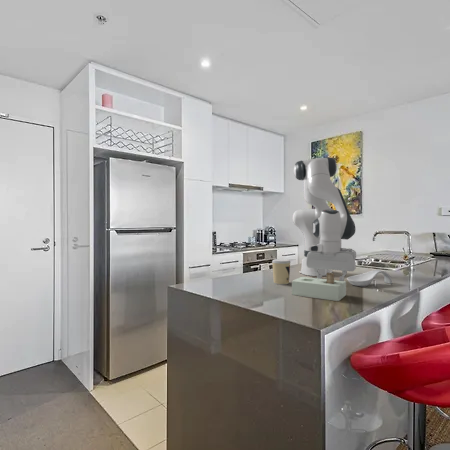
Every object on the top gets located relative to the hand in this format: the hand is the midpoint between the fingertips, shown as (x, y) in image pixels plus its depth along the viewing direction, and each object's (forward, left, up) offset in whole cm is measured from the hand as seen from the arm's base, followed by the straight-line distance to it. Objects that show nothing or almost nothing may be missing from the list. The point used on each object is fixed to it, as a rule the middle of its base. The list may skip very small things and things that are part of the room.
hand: (330, 279), depth 134 cm
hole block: (0, -5, -7) cm, 9 cm away
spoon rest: (-35, +10, -8) cm, 37 cm away
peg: (0, 0, -7) cm, 7 cm away
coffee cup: (-14, -29, -7) cm, 33 cm away
